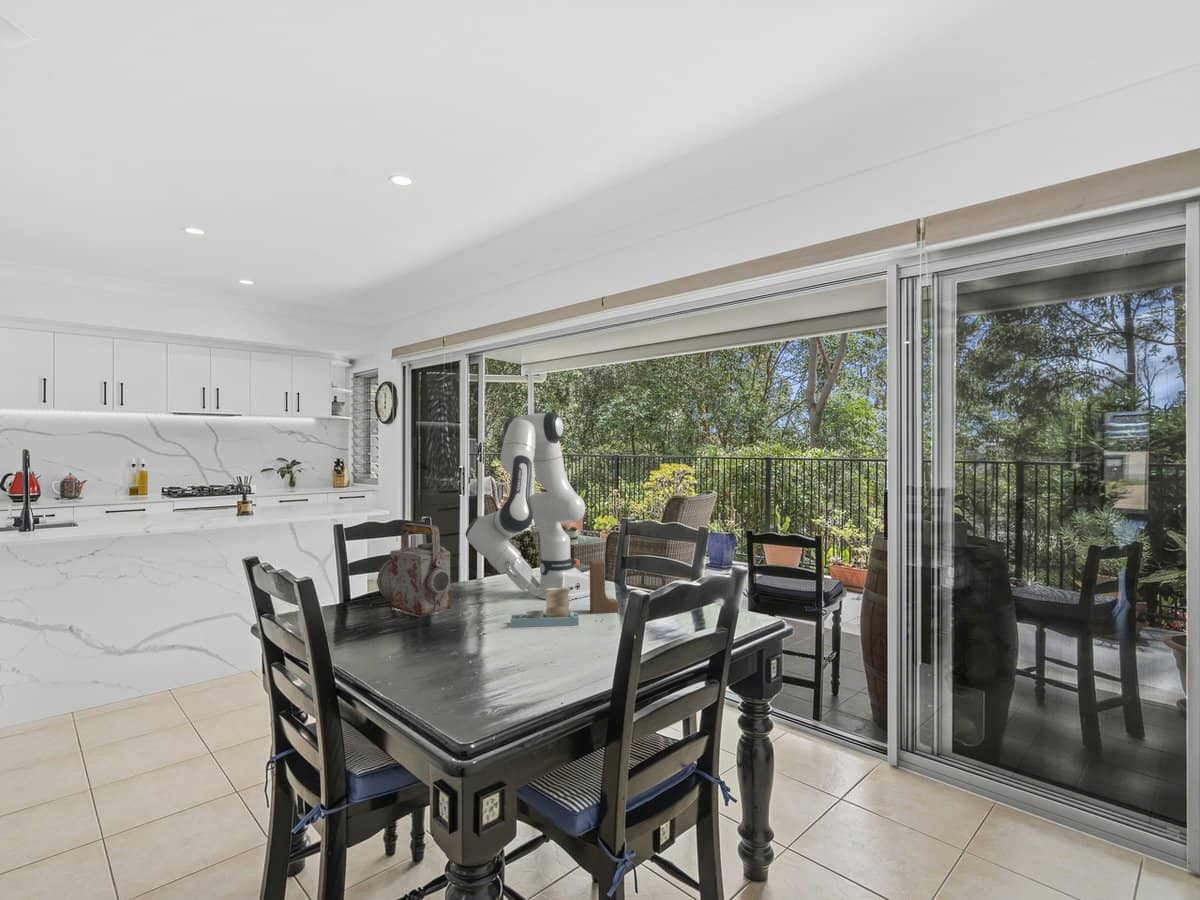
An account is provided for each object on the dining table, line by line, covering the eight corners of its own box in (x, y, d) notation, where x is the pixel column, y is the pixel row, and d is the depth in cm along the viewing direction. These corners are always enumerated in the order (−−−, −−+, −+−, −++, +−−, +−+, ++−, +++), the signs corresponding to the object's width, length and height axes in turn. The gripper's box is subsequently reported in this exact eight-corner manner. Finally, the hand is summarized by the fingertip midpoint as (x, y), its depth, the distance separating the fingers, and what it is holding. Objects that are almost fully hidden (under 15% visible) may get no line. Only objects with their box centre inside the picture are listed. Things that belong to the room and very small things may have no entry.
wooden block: (615, 611, 217) (615, 559, 217) (618, 615, 213) (618, 561, 213) (589, 613, 216) (589, 560, 216) (592, 617, 211) (591, 562, 211)
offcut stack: (524, 625, 198) (523, 612, 198) (524, 623, 201) (524, 611, 201) (543, 625, 199) (543, 612, 199) (543, 623, 201) (543, 610, 201)
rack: (508, 632, 195) (508, 619, 195) (510, 624, 204) (510, 611, 204) (580, 630, 196) (580, 617, 196) (579, 622, 205) (579, 609, 205)
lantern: (413, 599, 237) (412, 518, 237) (459, 611, 220) (458, 524, 220) (374, 608, 225) (373, 523, 225) (420, 621, 208) (419, 529, 207)
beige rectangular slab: (546, 625, 199) (546, 590, 199) (546, 622, 201) (546, 588, 201) (568, 624, 199) (568, 589, 199) (568, 622, 202) (568, 587, 202)
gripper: (512, 558, 189) (545, 590, 190) (516, 547, 209) (546, 576, 210) (497, 574, 188) (530, 606, 189) (502, 561, 209) (532, 590, 210)
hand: (538, 590), depth 200 cm, fingers open, 8 cm apart
